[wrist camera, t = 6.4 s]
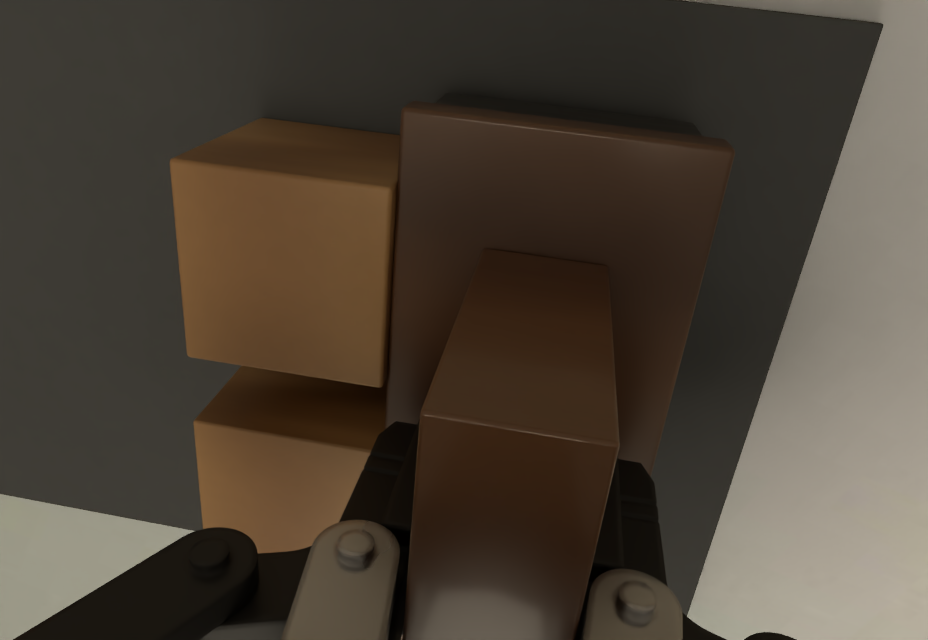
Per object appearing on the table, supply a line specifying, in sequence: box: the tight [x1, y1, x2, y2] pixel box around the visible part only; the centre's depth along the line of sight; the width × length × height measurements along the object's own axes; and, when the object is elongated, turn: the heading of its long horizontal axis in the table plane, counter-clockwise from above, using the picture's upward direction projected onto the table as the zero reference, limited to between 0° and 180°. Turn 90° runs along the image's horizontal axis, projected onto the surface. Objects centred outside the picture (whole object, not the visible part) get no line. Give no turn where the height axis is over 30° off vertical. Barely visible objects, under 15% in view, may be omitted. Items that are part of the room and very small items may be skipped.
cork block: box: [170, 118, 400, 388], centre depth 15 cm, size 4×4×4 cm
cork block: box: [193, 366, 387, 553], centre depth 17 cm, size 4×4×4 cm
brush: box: [384, 93, 735, 640], centre depth 13 cm, size 12×5×8 cm, turn 175°
